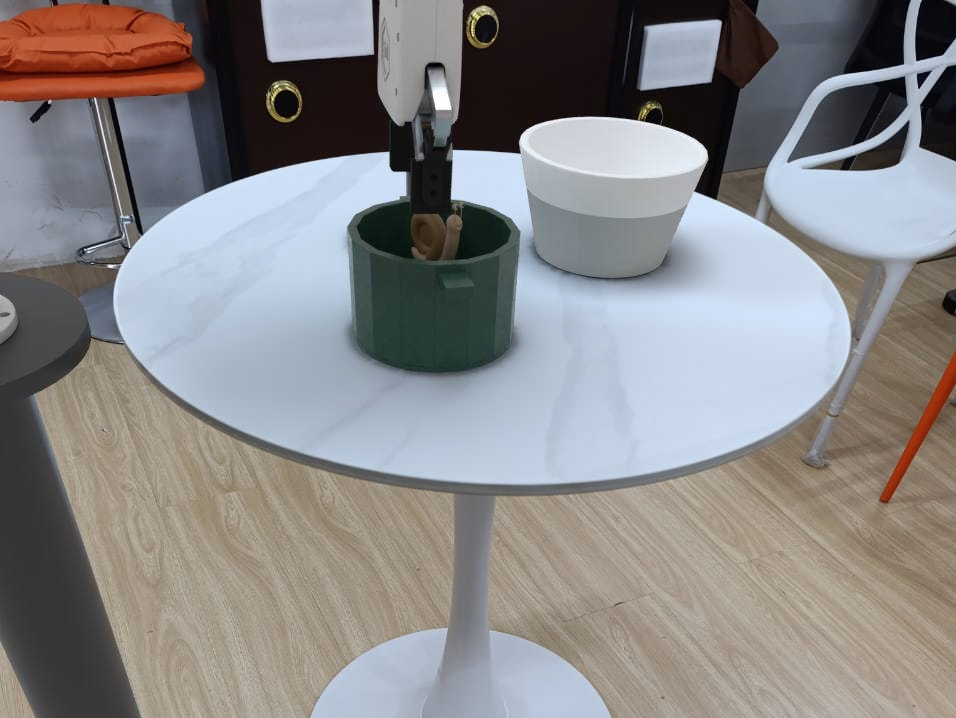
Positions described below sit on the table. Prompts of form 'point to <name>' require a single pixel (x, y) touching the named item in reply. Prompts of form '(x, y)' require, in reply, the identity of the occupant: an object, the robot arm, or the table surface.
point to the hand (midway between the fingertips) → (418, 190)
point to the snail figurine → (436, 235)
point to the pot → (432, 289)
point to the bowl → (607, 192)
